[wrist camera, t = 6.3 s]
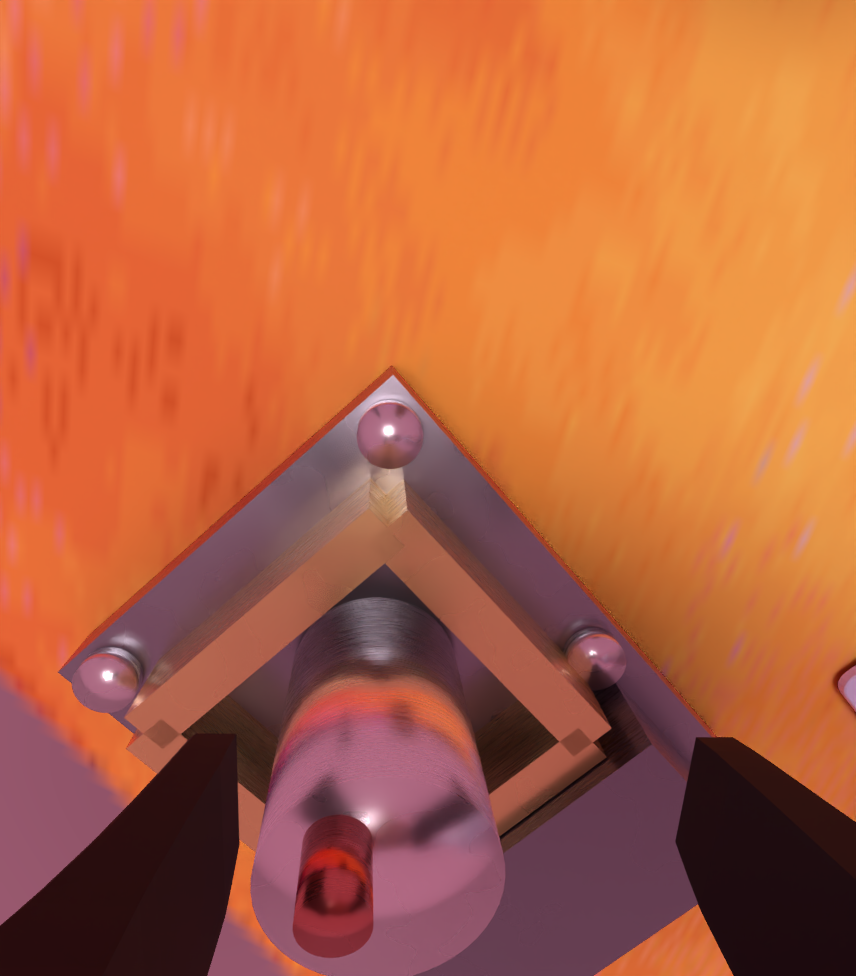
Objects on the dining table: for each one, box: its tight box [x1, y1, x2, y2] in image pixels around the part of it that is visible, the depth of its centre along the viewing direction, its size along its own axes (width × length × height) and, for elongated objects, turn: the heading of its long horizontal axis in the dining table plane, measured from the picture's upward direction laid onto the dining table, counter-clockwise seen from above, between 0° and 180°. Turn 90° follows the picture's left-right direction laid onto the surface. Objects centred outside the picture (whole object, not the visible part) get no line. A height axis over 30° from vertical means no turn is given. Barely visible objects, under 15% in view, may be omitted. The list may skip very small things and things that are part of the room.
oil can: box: [251, 598, 505, 976], centre depth 15 cm, size 4×4×9 cm
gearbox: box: [58, 366, 716, 976], centre depth 19 cm, size 16×12×5 cm
